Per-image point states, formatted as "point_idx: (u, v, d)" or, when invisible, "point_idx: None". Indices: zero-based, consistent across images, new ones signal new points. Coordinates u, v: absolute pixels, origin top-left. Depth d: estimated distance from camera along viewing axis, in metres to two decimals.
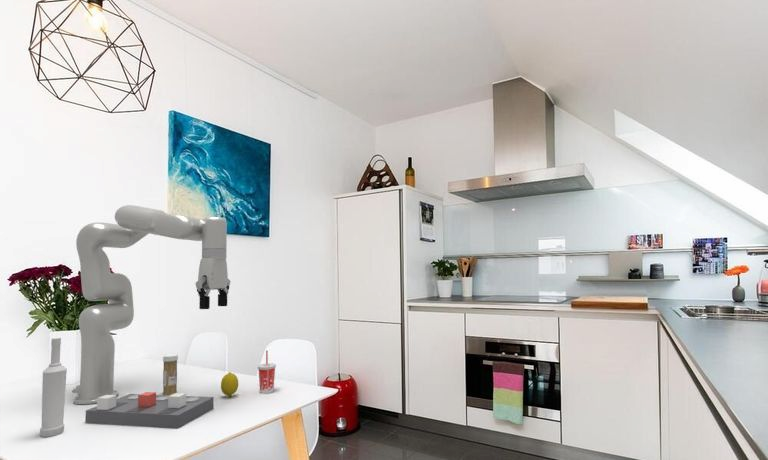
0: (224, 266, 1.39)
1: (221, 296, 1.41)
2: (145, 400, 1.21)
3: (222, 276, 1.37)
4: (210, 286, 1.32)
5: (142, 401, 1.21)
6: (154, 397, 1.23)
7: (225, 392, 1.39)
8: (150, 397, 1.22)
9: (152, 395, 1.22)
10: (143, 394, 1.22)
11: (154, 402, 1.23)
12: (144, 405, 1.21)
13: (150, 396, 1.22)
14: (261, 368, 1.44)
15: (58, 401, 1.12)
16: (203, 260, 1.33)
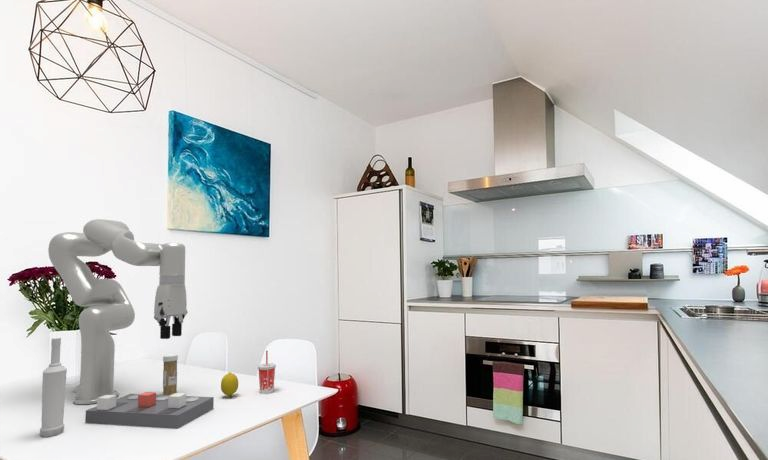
0: (182, 292, 1.39)
1: (175, 326, 1.39)
2: (145, 400, 1.21)
3: (180, 302, 1.38)
4: (166, 313, 1.32)
5: (142, 401, 1.21)
6: (154, 397, 1.23)
7: (225, 392, 1.39)
8: (150, 397, 1.22)
9: (152, 395, 1.22)
10: (143, 394, 1.22)
11: (154, 402, 1.23)
12: (144, 405, 1.21)
13: (150, 396, 1.22)
14: (261, 368, 1.44)
15: (58, 401, 1.12)
16: (159, 287, 1.33)
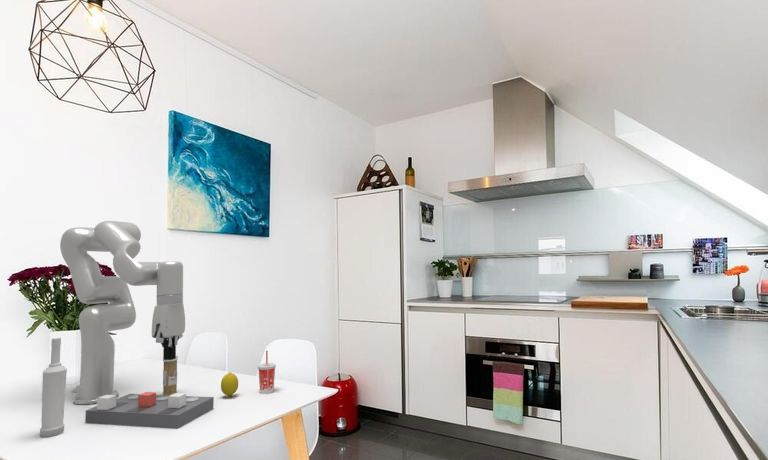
0: (181, 311, 1.35)
1: None
2: (145, 400, 1.21)
3: (178, 322, 1.33)
4: (164, 334, 1.27)
5: (142, 401, 1.21)
6: (154, 397, 1.23)
7: (225, 392, 1.39)
8: (150, 397, 1.22)
9: (152, 395, 1.22)
10: (143, 394, 1.22)
11: (154, 402, 1.23)
12: (144, 405, 1.21)
13: (150, 396, 1.22)
14: (261, 368, 1.44)
15: (58, 401, 1.12)
16: (157, 307, 1.29)
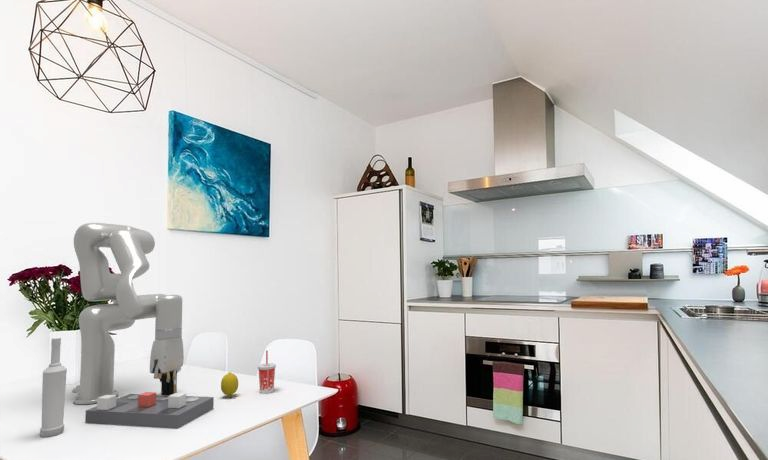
0: (179, 345, 1.33)
1: None
2: (145, 400, 1.21)
3: (177, 356, 1.32)
4: (162, 371, 1.26)
5: (142, 401, 1.21)
6: (154, 397, 1.23)
7: (225, 392, 1.39)
8: (150, 397, 1.22)
9: (152, 395, 1.22)
10: (143, 394, 1.22)
11: (154, 402, 1.23)
12: (144, 405, 1.21)
13: (150, 396, 1.22)
14: (261, 368, 1.44)
15: (58, 401, 1.12)
16: (155, 343, 1.28)
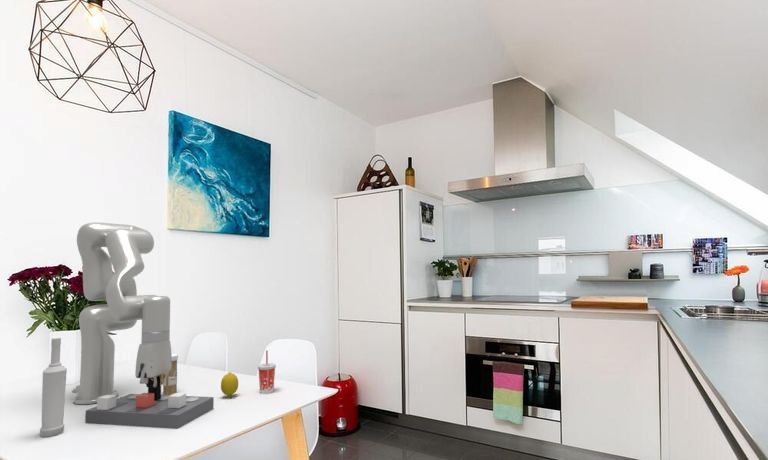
0: (167, 349, 1.28)
1: None
2: (143, 401, 1.20)
3: (164, 360, 1.27)
4: (148, 375, 1.21)
5: (140, 402, 1.20)
6: (152, 398, 1.22)
7: (225, 392, 1.39)
8: (148, 398, 1.21)
9: (150, 396, 1.22)
10: (141, 395, 1.21)
11: (152, 403, 1.22)
12: (142, 406, 1.20)
13: (148, 397, 1.21)
14: (261, 368, 1.44)
15: (58, 401, 1.12)
16: (141, 346, 1.22)
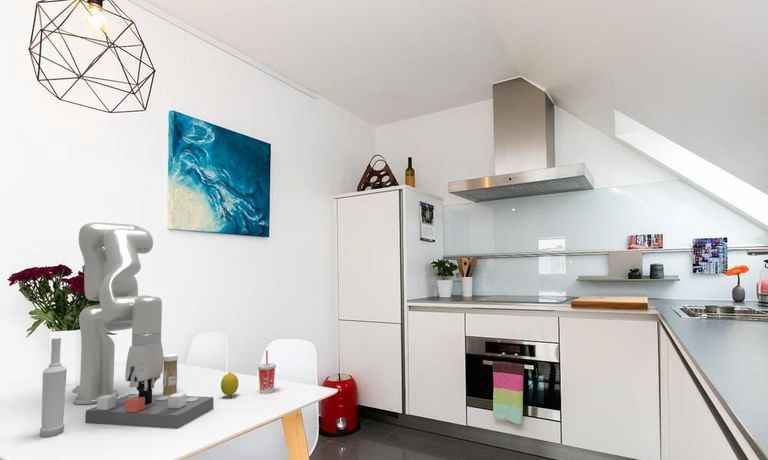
0: (158, 351, 1.25)
1: None
2: (133, 405, 1.17)
3: (155, 363, 1.23)
4: (139, 379, 1.17)
5: (130, 406, 1.17)
6: (143, 402, 1.19)
7: (225, 392, 1.39)
8: (139, 402, 1.17)
9: (140, 400, 1.18)
10: (131, 399, 1.18)
11: (143, 407, 1.19)
12: (132, 410, 1.17)
13: (138, 401, 1.17)
14: (261, 368, 1.44)
15: (58, 401, 1.12)
16: (131, 348, 1.19)
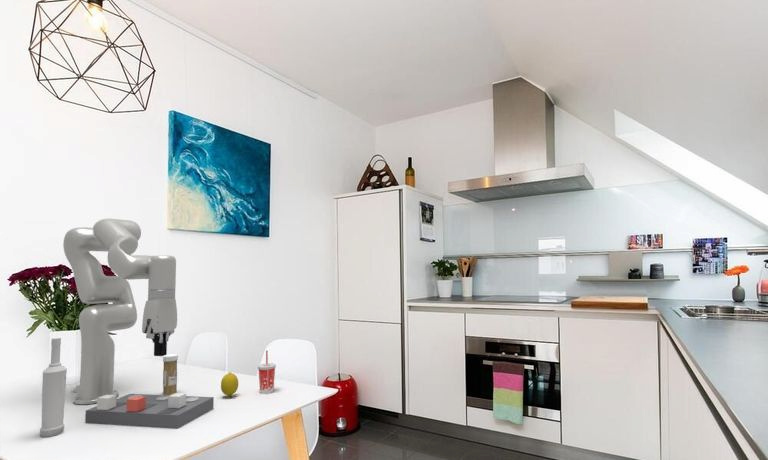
0: (173, 307, 1.31)
1: None
2: (134, 405, 1.17)
3: (170, 317, 1.30)
4: (155, 330, 1.24)
5: (131, 406, 1.17)
6: (143, 401, 1.19)
7: (225, 392, 1.39)
8: (140, 401, 1.18)
9: (141, 399, 1.18)
10: (132, 398, 1.18)
11: (143, 407, 1.19)
12: (133, 410, 1.17)
13: (139, 400, 1.18)
14: (261, 368, 1.44)
15: (58, 401, 1.12)
16: (148, 302, 1.26)
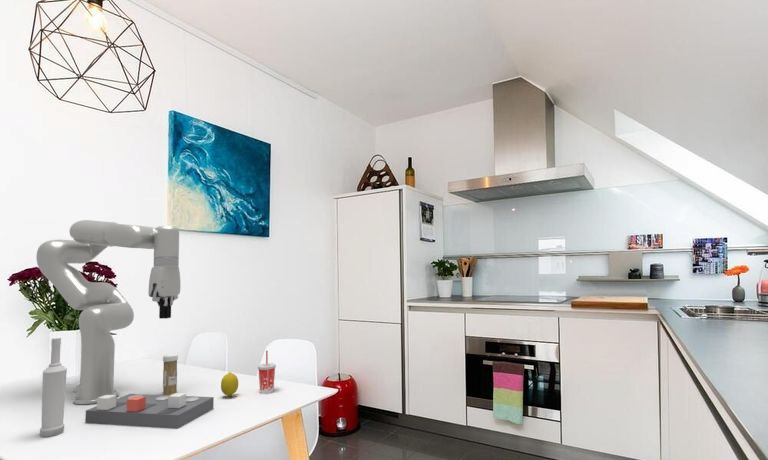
0: (176, 274, 1.42)
1: None
2: (134, 405, 1.17)
3: (174, 283, 1.41)
4: (160, 294, 1.35)
5: (131, 406, 1.17)
6: (143, 401, 1.19)
7: (225, 392, 1.39)
8: (140, 401, 1.18)
9: (141, 399, 1.18)
10: (132, 398, 1.18)
11: (143, 407, 1.19)
12: (133, 410, 1.17)
13: (139, 400, 1.18)
14: (261, 368, 1.44)
15: (58, 401, 1.12)
16: (153, 268, 1.37)
